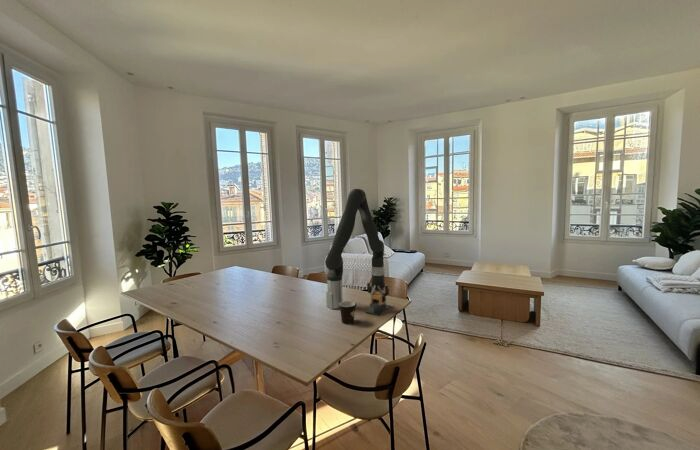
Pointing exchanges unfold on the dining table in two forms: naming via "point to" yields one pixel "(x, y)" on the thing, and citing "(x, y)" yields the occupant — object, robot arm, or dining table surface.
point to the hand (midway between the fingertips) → (378, 301)
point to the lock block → (377, 297)
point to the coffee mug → (347, 312)
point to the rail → (377, 308)
